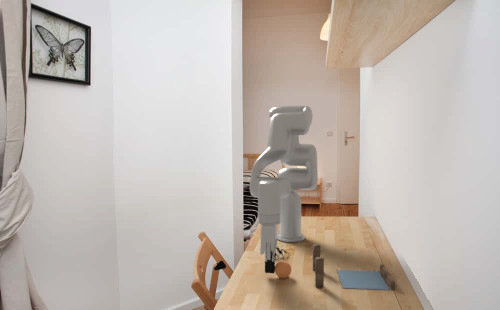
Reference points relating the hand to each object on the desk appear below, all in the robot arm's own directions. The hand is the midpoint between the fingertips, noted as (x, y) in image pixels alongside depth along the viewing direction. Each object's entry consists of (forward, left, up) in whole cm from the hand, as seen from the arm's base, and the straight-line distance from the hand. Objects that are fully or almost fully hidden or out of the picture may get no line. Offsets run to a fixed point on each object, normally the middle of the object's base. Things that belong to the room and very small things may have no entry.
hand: (269, 272), depth 121 cm
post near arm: (-7, +16, -2) cm, 17 cm away
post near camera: (+6, +16, -2) cm, 17 cm away
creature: (-19, +3, -2) cm, 19 cm away
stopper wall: (0, +38, -2) cm, 38 cm away
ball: (0, +4, +1) cm, 4 cm away
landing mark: (0, +30, -2) cm, 30 cm away
